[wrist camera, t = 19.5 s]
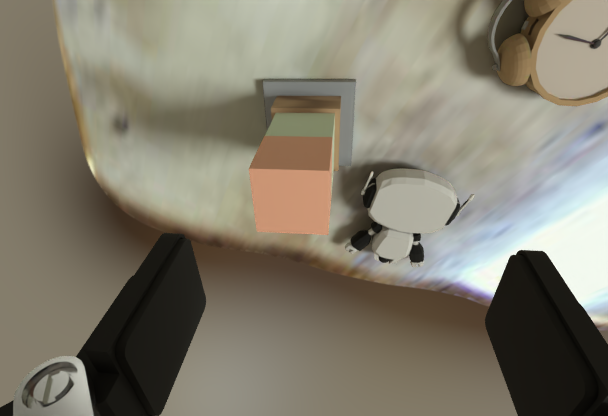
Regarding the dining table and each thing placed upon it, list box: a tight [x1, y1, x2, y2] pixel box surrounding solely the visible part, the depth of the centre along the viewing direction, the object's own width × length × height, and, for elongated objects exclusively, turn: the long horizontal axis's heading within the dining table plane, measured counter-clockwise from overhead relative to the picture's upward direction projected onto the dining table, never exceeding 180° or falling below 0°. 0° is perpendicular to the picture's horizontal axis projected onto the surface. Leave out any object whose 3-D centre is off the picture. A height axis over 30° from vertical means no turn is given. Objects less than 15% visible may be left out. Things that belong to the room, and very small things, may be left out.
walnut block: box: [271, 96, 341, 171], centre depth 40 cm, size 7×7×4 cm
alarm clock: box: [487, 0, 608, 106], centre depth 33 cm, size 11×5×15 cm
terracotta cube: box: [249, 136, 333, 235], centre depth 31 cm, size 6×6×6 cm
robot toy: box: [345, 169, 474, 267], centre depth 46 cm, size 12×4×15 cm
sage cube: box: [265, 113, 335, 196], centre depth 36 cm, size 6×6×6 cm
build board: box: [263, 79, 356, 166], centre depth 42 cm, size 10×10×1 cm
